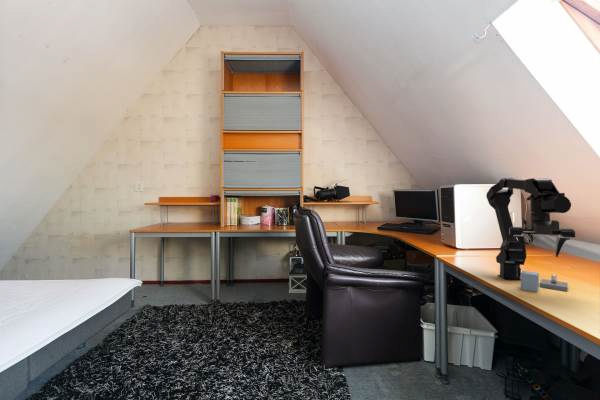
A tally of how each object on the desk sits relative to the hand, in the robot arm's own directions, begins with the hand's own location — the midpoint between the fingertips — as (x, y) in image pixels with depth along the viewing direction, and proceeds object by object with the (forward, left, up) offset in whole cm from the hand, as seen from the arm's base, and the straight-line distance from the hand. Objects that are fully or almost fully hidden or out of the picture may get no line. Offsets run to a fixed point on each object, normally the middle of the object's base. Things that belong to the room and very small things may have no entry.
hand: (540, 255), depth 116 cm
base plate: (+9, +6, -13) cm, 17 cm away
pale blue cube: (-2, +2, -13) cm, 13 cm away
